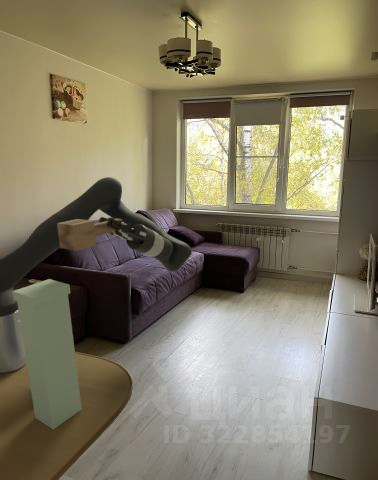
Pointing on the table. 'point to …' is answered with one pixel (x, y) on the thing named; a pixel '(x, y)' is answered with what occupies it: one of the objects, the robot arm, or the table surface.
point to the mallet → (81, 233)
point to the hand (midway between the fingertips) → (104, 221)
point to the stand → (49, 350)
